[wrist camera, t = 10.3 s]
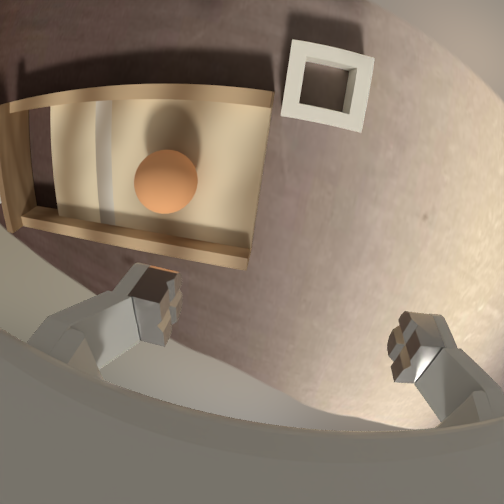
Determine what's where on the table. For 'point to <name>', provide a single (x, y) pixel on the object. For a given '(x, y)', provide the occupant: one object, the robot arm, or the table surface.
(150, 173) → the ball
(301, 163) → the table surface
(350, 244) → the table surface
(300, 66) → the square ring
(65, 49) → the table surface
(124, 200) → the lane
